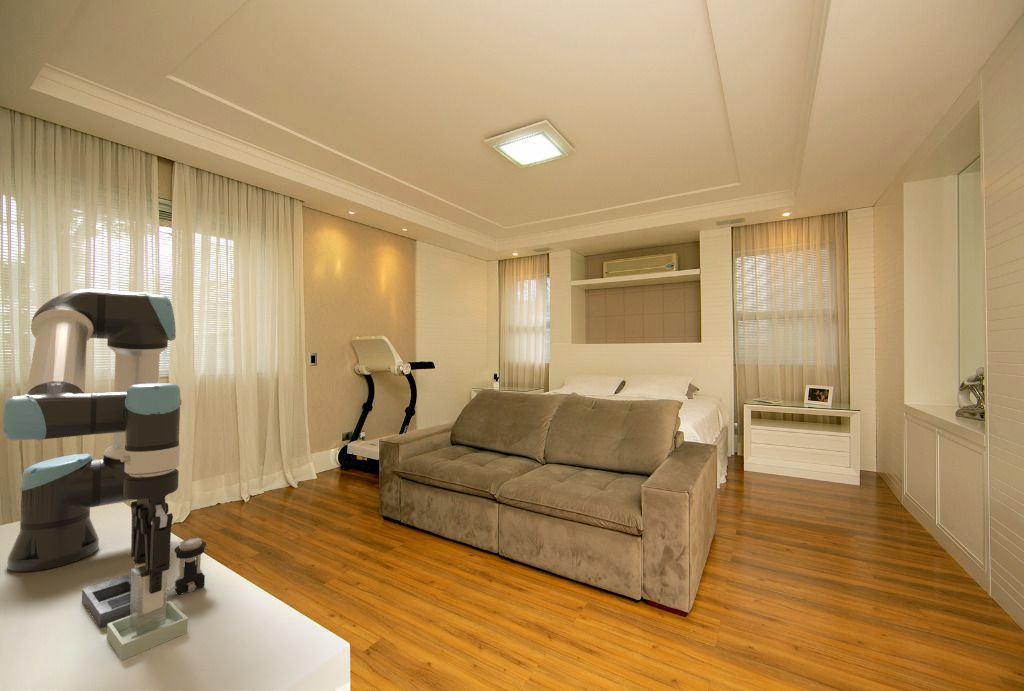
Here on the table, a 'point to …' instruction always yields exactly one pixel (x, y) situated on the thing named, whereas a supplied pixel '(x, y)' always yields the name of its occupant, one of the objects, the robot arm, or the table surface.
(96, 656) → the table surface
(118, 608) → the dark gray slotted holder
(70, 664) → the table surface
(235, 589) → the table surface
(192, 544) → the push button
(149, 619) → the block
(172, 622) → the parts tray
